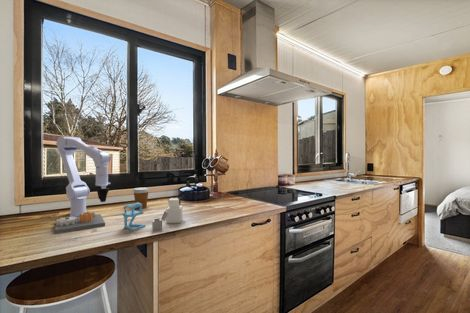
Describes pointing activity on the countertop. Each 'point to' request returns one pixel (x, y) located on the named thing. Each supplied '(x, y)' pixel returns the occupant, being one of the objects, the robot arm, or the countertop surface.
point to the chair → (133, 215)
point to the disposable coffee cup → (141, 196)
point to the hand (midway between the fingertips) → (102, 200)
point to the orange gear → (86, 216)
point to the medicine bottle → (174, 211)
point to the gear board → (78, 223)
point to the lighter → (158, 222)
